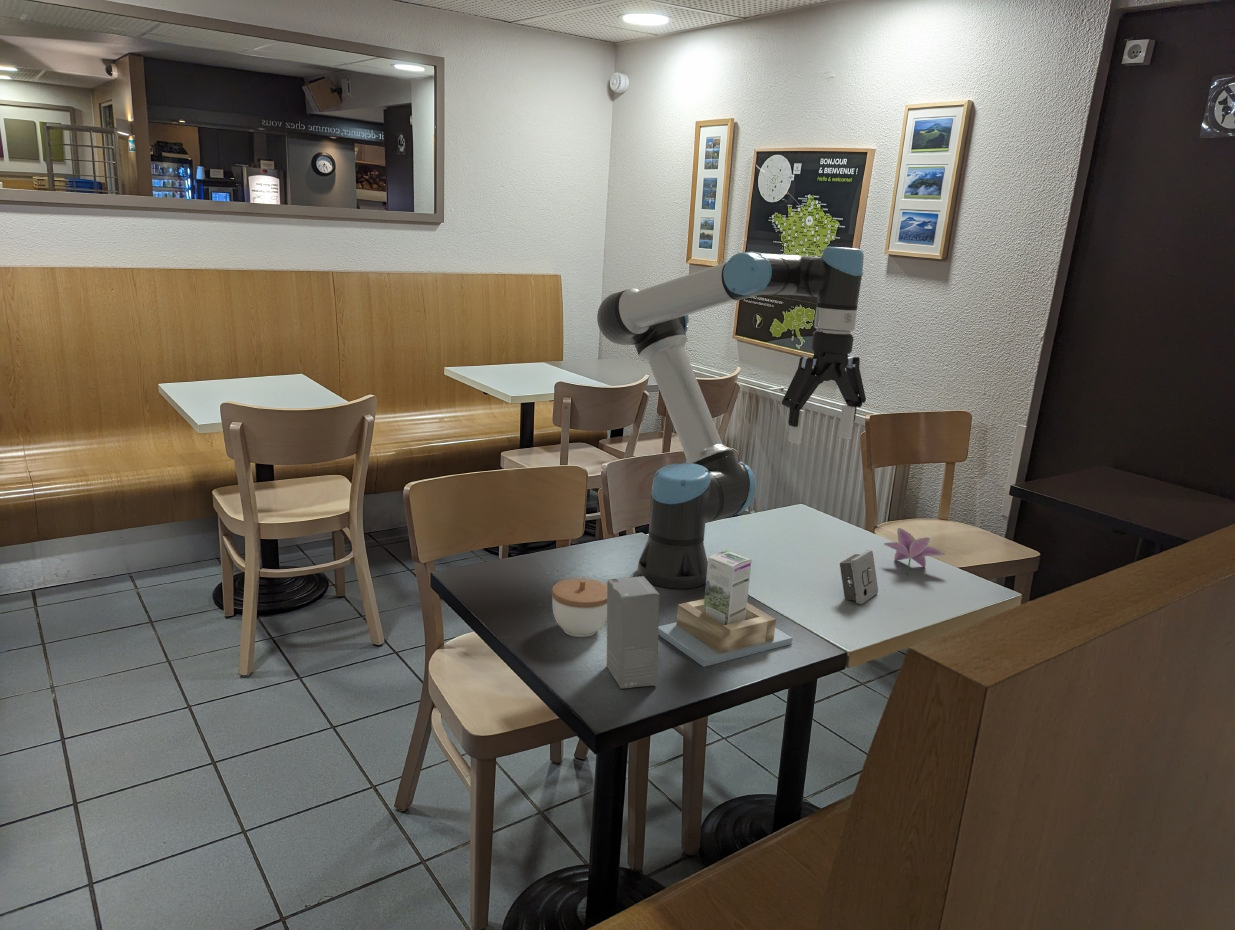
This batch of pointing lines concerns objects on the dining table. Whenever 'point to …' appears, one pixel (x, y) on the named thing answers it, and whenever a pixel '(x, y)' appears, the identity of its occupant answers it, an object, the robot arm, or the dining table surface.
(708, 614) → the syrup box
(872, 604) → the dining table surface
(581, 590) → the lidded jar
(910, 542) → the lily
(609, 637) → the skincare box
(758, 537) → the dining table surface
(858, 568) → the electrical switch
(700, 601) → the socket holder
